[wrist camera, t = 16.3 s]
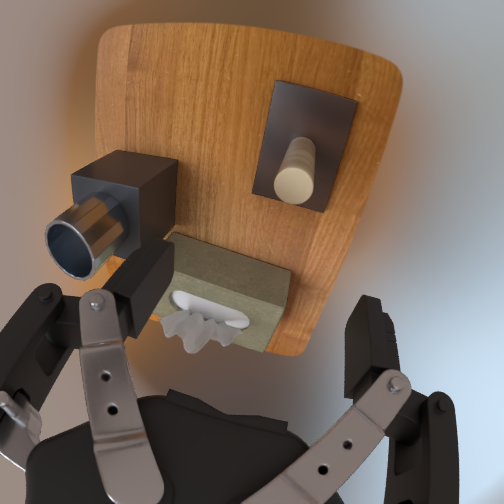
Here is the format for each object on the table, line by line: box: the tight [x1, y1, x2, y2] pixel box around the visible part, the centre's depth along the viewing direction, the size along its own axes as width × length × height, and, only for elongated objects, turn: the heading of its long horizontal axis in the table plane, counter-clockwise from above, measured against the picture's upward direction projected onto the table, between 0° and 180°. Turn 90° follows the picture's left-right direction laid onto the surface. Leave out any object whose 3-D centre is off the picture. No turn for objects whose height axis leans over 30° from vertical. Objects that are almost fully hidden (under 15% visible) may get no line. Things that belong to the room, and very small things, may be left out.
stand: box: [71, 150, 178, 259], centre depth 37 cm, size 10×10×10 cm
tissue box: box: [152, 232, 292, 353], centre depth 40 cm, size 19×10×16 cm, turn 76°
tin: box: [45, 191, 130, 281], centre depth 30 cm, size 7×7×7 cm
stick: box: [274, 137, 316, 204], centre depth 27 cm, size 3×3×12 cm
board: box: [252, 80, 357, 213], centre depth 33 cm, size 14×9×2 cm, turn 169°
